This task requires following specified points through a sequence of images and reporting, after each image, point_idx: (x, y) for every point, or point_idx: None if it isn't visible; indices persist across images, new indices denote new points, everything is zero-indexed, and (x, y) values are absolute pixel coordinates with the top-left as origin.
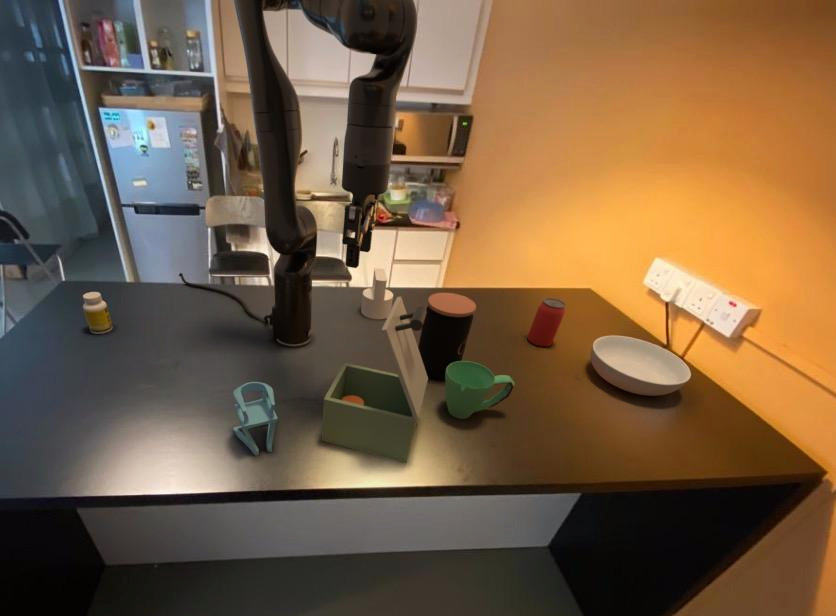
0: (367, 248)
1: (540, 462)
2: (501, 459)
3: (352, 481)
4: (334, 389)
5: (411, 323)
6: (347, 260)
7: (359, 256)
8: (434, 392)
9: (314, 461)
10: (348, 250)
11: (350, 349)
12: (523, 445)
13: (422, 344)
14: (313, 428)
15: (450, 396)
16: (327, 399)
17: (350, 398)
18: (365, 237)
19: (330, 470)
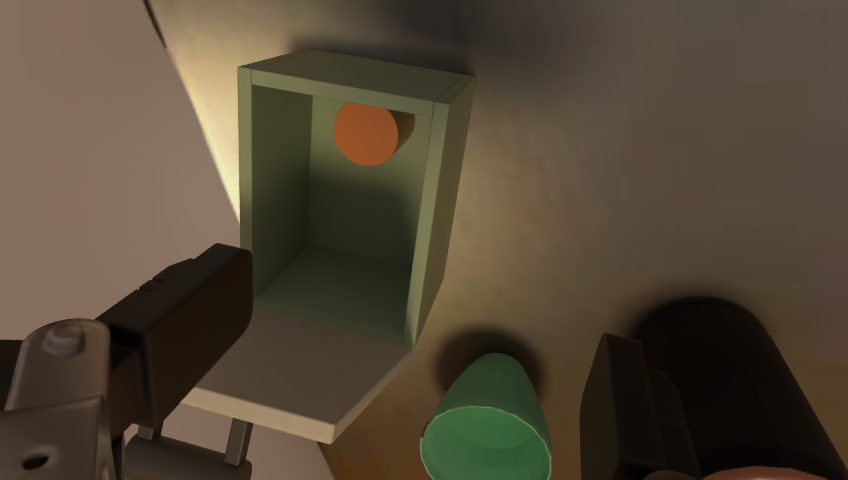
0: (584, 411)
1: (376, 473)
2: (365, 416)
3: (217, 138)
4: (297, 91)
5: (128, 443)
6: (158, 276)
7: (207, 369)
8: (570, 332)
9: (240, 43)
10: (101, 320)
11: (827, 70)
12: (414, 462)
13: (695, 358)
14: (345, 15)
15: (460, 381)
16: (238, 78)
17: (381, 125)
18: (598, 462)
19: (228, 86)
